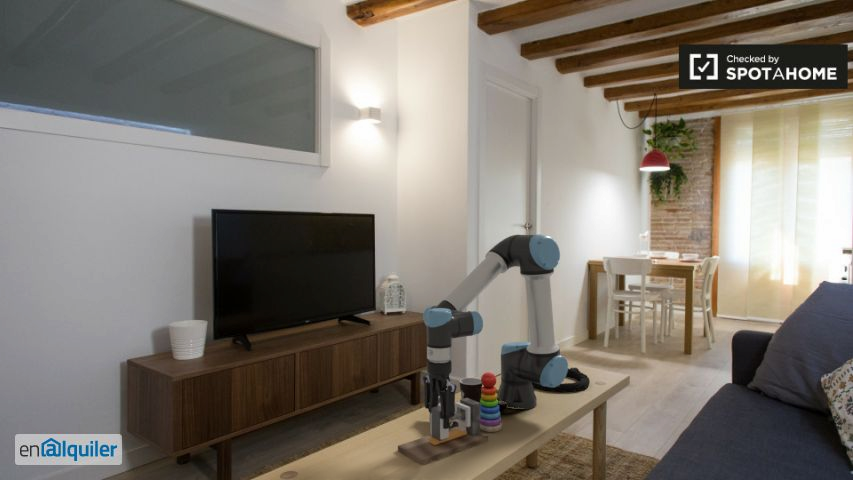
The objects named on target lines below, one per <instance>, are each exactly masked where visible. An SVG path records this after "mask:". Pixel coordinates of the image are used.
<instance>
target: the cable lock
mask: <svg viewBox="0 0 853 480" xmlns="http://www.w3.org/2000/svg"><path fill="white" fill-rule="evenodd" d="M566 377H567V378H573V379H575V380H579V381H575V382H566V383H565V382H564V383H561V384H560V385H559V386H557V387H547V386H542V385H540V384H537V383H534V382H532V386H533V389H537V390H542V391H546V392H552V393H553V392H556V393H573V392H579V391H582V390H585V389H586V388H587V387H589V386H590V378H589V376H588V375H587V374H585V373H583V372H581V371H580V370H579V369H578V368H577V367H570V368H569V367H568V371H567V375H566Z"/></svg>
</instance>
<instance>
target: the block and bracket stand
mask: <svg viewBox="0 0 853 480" xmlns="http://www.w3.org/2000/svg"><path fill="white" fill-rule="evenodd" d="M455 402H456V403H455V414H456V413H459V412H460V408H461V409H464V410H465V420H463V419H460V418H458V419H455V422H458V426H459V429H456V430H453V431H450V432H449V438H446V439H443V440H441V439H440V417H442V413H441V406H436V407H432V408H431V430H432V438H429V442H430V443H432V444H434V445H437V444H440V443H443V442H445V441H448V440H451V439H454V438H457V437H460V436H463V435H466V434H467V431H466V427H469V426H470V407H469V406H466V405H464V404H461V403H460V402H459V401H455ZM445 414H446V413H445Z"/></svg>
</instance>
